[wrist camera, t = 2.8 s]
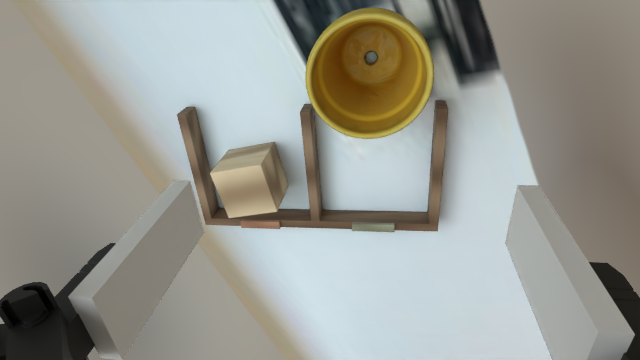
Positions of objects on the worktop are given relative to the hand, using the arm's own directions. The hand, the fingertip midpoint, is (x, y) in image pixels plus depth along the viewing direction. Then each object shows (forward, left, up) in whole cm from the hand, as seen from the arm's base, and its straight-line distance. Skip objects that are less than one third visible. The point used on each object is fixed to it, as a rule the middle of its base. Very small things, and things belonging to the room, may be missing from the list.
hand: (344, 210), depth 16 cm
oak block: (+13, -14, -28) cm, 34 cm away
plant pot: (0, 0, -28) cm, 28 cm away
